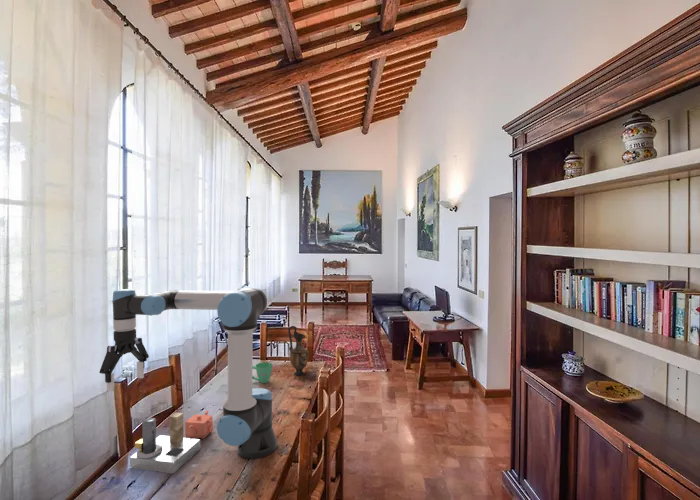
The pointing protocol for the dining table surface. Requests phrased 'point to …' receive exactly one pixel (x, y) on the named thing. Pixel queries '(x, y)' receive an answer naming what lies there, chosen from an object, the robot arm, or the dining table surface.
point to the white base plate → (168, 455)
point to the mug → (263, 372)
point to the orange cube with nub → (199, 426)
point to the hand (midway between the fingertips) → (126, 383)
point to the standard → (148, 440)
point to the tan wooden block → (176, 427)
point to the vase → (298, 353)
